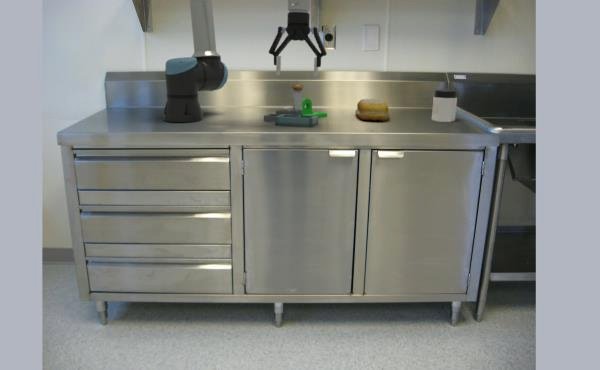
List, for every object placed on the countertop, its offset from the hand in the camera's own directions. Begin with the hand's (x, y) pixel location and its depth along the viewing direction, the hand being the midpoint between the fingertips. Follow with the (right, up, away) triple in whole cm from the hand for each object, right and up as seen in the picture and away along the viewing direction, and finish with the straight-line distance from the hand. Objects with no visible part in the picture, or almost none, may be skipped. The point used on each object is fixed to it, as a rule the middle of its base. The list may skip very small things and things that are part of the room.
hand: (296, 76), depth 175 cm
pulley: (-4, -11, +26) cm, 29 cm away
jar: (+57, -14, +21) cm, 62 cm away
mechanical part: (+7, -12, +25) cm, 28 cm away
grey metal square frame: (-8, -14, +15) cm, 22 cm away
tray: (0, -17, +4) cm, 17 cm away
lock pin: (0, -16, +4) cm, 16 cm away
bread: (+30, -12, +27) cm, 42 cm away
